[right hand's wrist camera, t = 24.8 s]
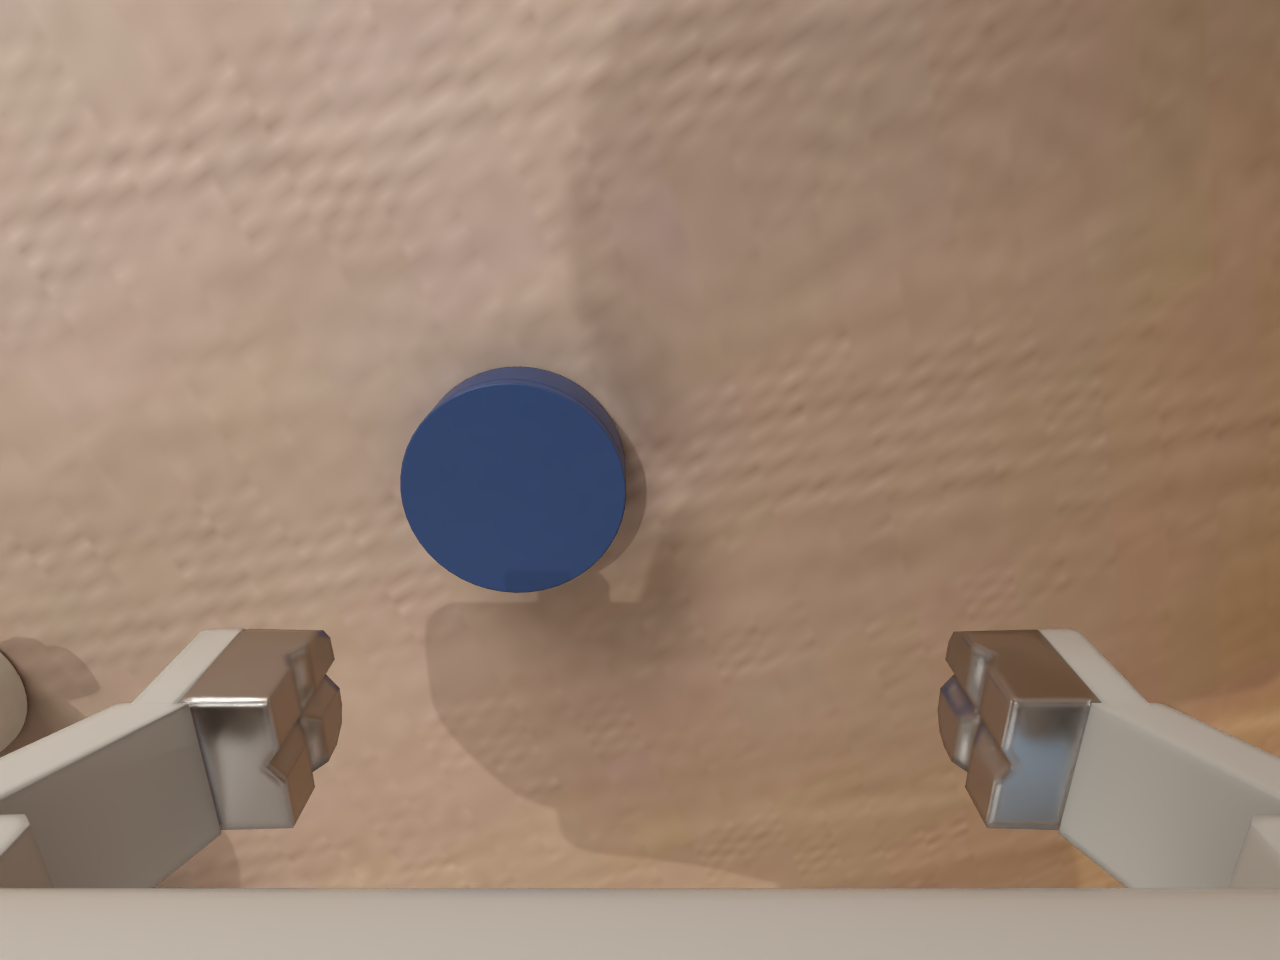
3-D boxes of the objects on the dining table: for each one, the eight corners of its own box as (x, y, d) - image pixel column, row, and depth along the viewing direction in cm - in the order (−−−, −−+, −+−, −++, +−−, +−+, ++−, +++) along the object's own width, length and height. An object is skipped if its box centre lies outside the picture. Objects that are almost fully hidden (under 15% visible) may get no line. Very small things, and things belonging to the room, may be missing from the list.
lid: (375, 463, 20) (352, 489, 18) (520, 320, 19) (510, 333, 17) (524, 596, 21) (516, 632, 19) (667, 470, 20) (672, 496, 18)
